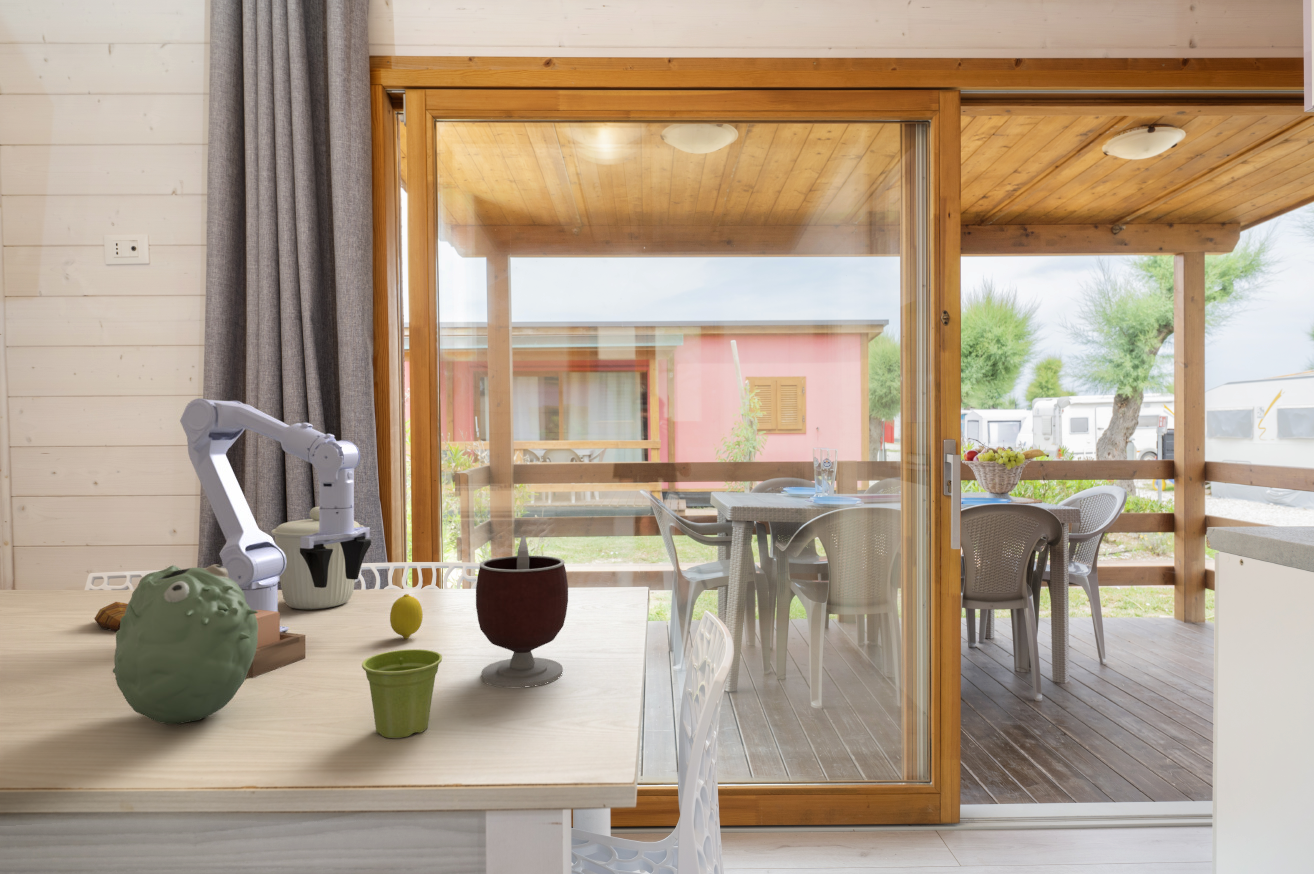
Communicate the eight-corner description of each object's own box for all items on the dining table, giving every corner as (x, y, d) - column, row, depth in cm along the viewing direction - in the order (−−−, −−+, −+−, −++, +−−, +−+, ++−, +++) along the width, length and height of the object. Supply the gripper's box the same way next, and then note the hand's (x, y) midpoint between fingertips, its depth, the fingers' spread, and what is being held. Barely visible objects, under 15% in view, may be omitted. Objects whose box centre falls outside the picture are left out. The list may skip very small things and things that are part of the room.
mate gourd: (569, 686, 105) (570, 549, 105) (471, 692, 103) (471, 551, 103) (565, 654, 120) (565, 534, 120) (480, 658, 118) (480, 536, 118)
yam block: (234, 647, 114) (234, 615, 114) (259, 639, 118) (259, 609, 118) (255, 650, 112) (255, 618, 112) (279, 642, 117) (279, 611, 117)
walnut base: (204, 669, 113) (204, 645, 113) (259, 651, 122) (259, 629, 122) (252, 677, 109) (252, 652, 109) (305, 657, 119) (305, 634, 119)
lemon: (412, 643, 127) (412, 598, 127) (383, 641, 128) (383, 596, 128) (428, 635, 132) (428, 591, 132) (400, 633, 133) (400, 590, 133)
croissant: (151, 629, 136) (151, 603, 136) (107, 637, 131) (107, 610, 131) (124, 618, 144) (124, 593, 144) (82, 625, 139) (82, 599, 139)
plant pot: (375, 715, 94) (375, 649, 94) (448, 713, 95) (448, 647, 95) (350, 746, 85) (351, 672, 85) (432, 743, 86) (432, 670, 86)
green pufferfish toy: (206, 688, 104) (206, 549, 104) (290, 712, 95) (290, 560, 95) (78, 726, 91) (78, 567, 91) (162, 759, 82) (161, 582, 82)
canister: (341, 615, 147) (341, 511, 147) (253, 614, 147) (253, 511, 147) (377, 595, 165) (377, 502, 165) (298, 594, 165) (298, 502, 165)
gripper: (323, 512, 122) (323, 592, 122) (382, 504, 136) (382, 576, 136) (290, 510, 124) (290, 589, 124) (352, 503, 138) (352, 574, 138)
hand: (336, 582), depth 130 cm, fingers open, 7 cm apart
